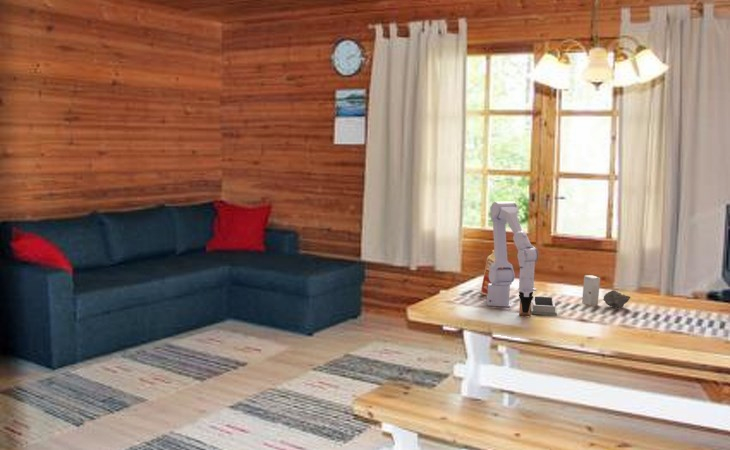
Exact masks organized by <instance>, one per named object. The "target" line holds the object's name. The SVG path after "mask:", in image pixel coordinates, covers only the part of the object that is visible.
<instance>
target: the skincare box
mask: <svg viewBox="0 0 730 450" xmlns="http://www.w3.org/2000/svg"><path fill="white" fill-rule="evenodd" d="M600 284H601V277H598V276H596V275H592V274H591V275H590V274H589V275H584V276H583V287H582V300H581V302H582V303H583V304H585V305H588V306H598V305H599V295H600V287H601V285H600Z"/></svg>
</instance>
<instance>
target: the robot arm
mask: <svg viewBox="0 0 730 450" xmlns="http://www.w3.org/2000/svg"><path fill="white" fill-rule="evenodd" d="M489 213H490V221H491V222H492V229H493V230H492V232H493V233H492V234H493V245H494V246H493V247H494V249H493V250H494V251H495V262H494V263H493V264H492V265H491V266H490V269H489V280H490V282H491V284H488V296H487V295H486V301H487V304H486V306H489V307H490V306H493V307H504V308H505V307H507V308H510V307H511V302H510V295H511V294H510V290H511V285H512V283H513V282H514V280H515V277H516V275H515V274H516V273H515V271H514V266H513V264H512V263H510V262H509V260H508V248H507V246H508V245H507V232H506V230H507V229H506V224H508V227H510V229H511V230H510V231H512V233H513V237H512V241H513V242H514V245H515V247H516V249H517V252H518V253H517V255H516V256H517V260H518V266H519V278H518V279H519V281H518V283H519V284H518V293H519V294H518V297H519V299H520V300H521V304H522V311H523V312H524V313H528V311H529V307H530V303H531V301H532V302H533V300H534V295H533V294H534V292H537V288H536V287H535V267H536V262H537V261H538V259H539V252H538V249H537V247H535V246H534V245H532V243H531V241H530V239H529V237H528V234H527V233H526V232H525V231H523V230H522V226H521V223H520V220H519V217H518V213H519V208H518V205H517V203H516V202H515V201H514V200H513V201H493V202H492V204H491V206H490V212H489ZM502 267H504V268H505V269H497V268H502ZM534 287H535V288H534ZM520 300H519V301H520Z"/></svg>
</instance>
